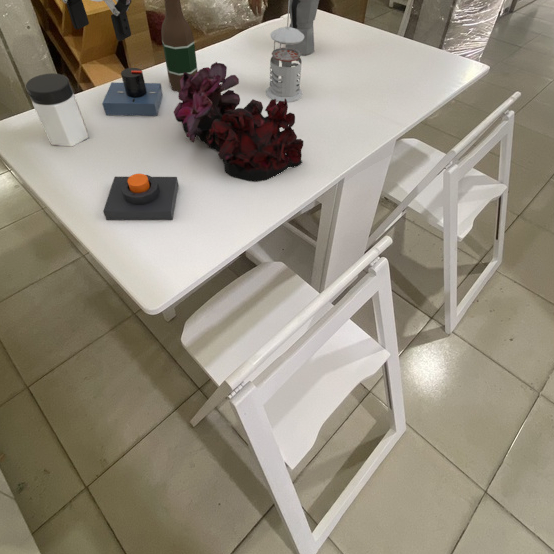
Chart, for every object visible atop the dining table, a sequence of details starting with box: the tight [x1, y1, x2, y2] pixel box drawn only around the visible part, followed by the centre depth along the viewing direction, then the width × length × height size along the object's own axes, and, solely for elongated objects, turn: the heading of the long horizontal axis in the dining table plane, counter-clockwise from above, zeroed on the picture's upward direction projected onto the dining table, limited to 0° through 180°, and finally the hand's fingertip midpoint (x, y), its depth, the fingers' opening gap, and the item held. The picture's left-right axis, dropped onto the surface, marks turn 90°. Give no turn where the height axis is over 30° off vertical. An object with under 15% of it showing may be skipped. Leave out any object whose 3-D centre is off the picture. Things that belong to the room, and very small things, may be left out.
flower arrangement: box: [173, 61, 304, 182], centre depth 83 cm, size 31×20×15 cm, turn 50°
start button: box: [128, 173, 150, 193], centre depth 73 cm, size 4×4×2 cm
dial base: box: [101, 82, 164, 117], centre depth 97 cm, size 12×10×3 cm
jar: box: [25, 73, 90, 147], centre depth 84 cm, size 9×8×12 cm
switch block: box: [102, 174, 179, 221], centre depth 75 cm, size 12×10×4 cm
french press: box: [265, 0, 304, 103], centre depth 96 cm, size 10×12×25 cm
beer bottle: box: [160, 0, 199, 93], centre depth 96 cm, size 8×8×24 cm
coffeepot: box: [287, 0, 320, 57], centre depth 114 cm, size 15×9×18 cm, turn 159°
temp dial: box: [120, 67, 147, 98], centre depth 94 cm, size 5×5×5 cm
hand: (102, 32), depth 72 cm, fingers open, 9 cm apart
